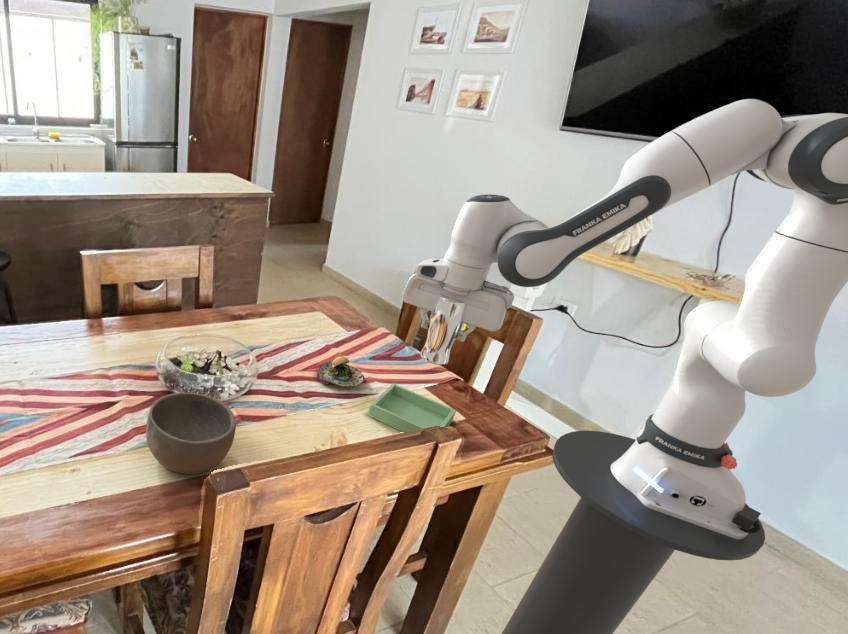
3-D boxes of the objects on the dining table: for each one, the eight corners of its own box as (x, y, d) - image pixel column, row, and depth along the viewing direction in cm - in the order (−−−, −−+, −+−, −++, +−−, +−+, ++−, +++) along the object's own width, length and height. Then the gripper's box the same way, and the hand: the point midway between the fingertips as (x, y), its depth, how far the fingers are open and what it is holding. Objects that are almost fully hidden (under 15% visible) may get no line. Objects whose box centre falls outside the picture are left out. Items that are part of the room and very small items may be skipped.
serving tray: (452, 420, 122) (456, 410, 121) (433, 446, 113) (438, 435, 111) (389, 393, 131) (393, 383, 129) (367, 415, 121) (370, 404, 120)
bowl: (213, 423, 113) (218, 385, 108) (244, 479, 98) (251, 438, 93) (135, 433, 107) (137, 393, 102) (155, 495, 92) (158, 451, 88)
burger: (322, 390, 129) (328, 364, 125) (312, 365, 139) (318, 341, 136) (368, 393, 130) (376, 368, 126) (355, 369, 140) (362, 345, 137)
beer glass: (415, 348, 119) (434, 288, 112) (446, 353, 118) (468, 293, 111) (420, 362, 112) (441, 300, 106) (453, 368, 111) (476, 305, 105)
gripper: (520, 286, 102) (496, 346, 109) (419, 257, 113) (402, 314, 120) (514, 294, 98) (488, 356, 104) (409, 263, 109) (392, 321, 115)
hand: (442, 333), depth 112 cm, fingers closed on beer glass, 6 cm apart
